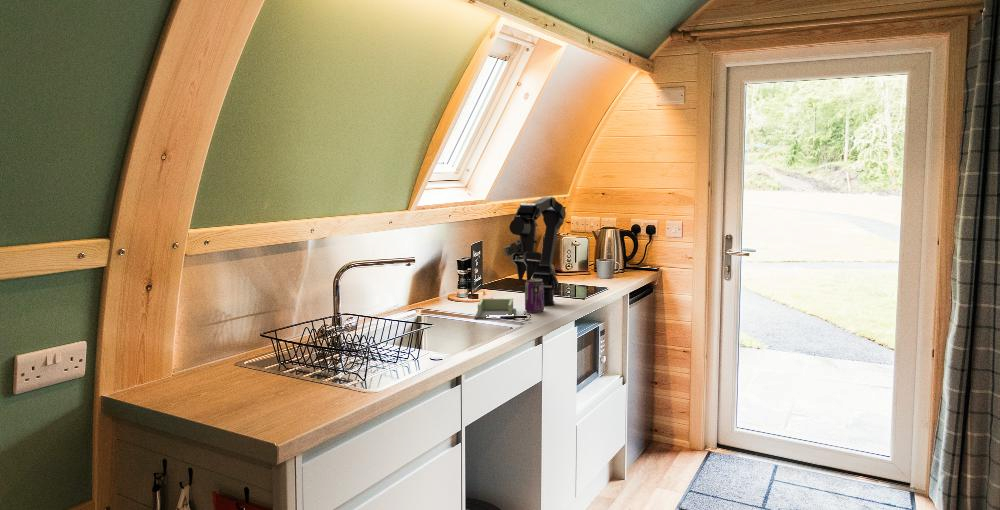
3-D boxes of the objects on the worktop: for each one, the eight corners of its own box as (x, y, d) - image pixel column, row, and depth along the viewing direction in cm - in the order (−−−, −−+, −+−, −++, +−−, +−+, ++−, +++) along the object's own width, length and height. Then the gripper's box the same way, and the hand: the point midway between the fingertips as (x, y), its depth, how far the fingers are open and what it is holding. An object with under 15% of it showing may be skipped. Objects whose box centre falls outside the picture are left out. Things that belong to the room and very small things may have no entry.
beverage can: (541, 313, 286) (540, 281, 285) (522, 312, 289) (522, 280, 287) (546, 310, 293) (546, 278, 291) (528, 309, 295) (528, 277, 294)
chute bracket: (479, 310, 294) (478, 297, 293) (516, 310, 293) (515, 297, 292) (474, 319, 279) (474, 305, 279) (513, 319, 278) (513, 306, 277)
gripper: (498, 236, 291) (495, 278, 291) (514, 234, 273) (511, 278, 273) (527, 239, 295) (524, 280, 294) (544, 237, 277) (540, 281, 276)
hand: (524, 280), depth 284 cm, fingers open, 9 cm apart
